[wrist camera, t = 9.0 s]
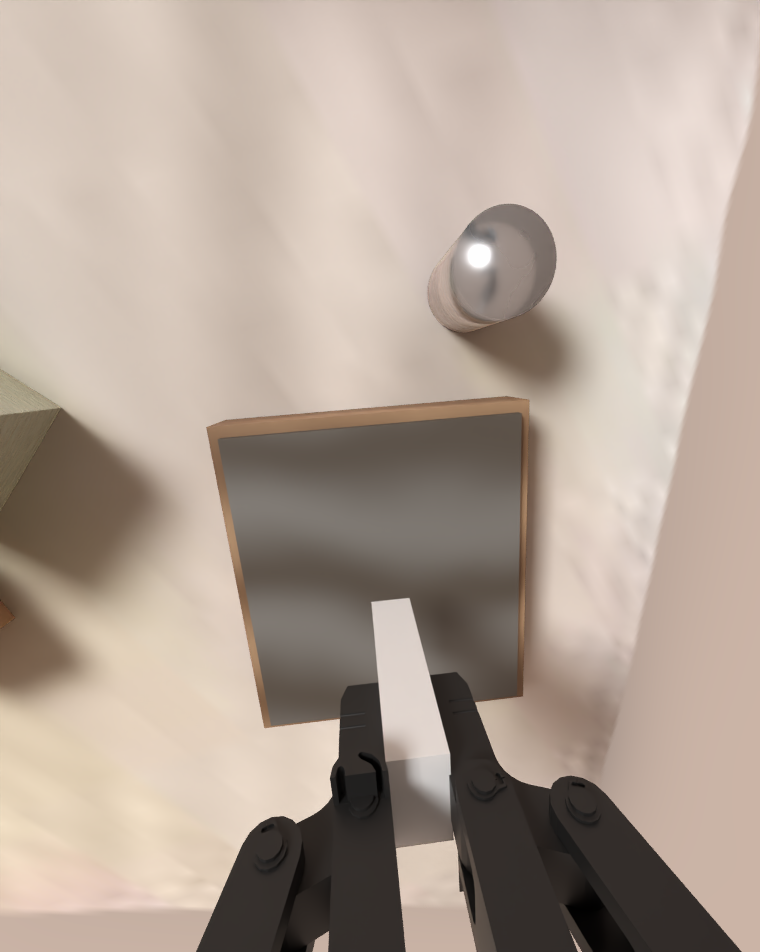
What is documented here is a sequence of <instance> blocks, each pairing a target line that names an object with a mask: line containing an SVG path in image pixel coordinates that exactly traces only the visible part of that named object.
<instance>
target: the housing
mask: <svg viewBox="0 0 760 952" xmlns="http://www.w3.org/2000/svg"><path fill="white" fill-rule="evenodd" d="M60 409H61V407H59V406H58V405H56V404H55V403H53V402H52V401H50V400H48V399H47V398H45V397H44V396H42V395H40V394H39V393H37V392H36V391H34V390H33V389H31V388H29V387H28V386H26V385H25V384H23V383H22V382H20V381H18V380H17V379H15V378H14V377H12V376H10V375H9V374H7V373H6V372H4V371H3V370H1V369H0V511H1V509H2V508H3V506H4V504H5V503H6V501H7V499H8V498H9V496H10V494H11V492H12V491H13V489H14V487H15V486H16V484H17V482H18V481H19V479H20V477H21V475H22V474H23V472H24V470H25V469H26V467H27V465H28V464H29V462H30V460H31V459H32V457H33V455H34V453H35V452H36V450H37V448H38V447H39V445H40V443H41V442H42V440H43V438H44V436H45V435H46V433H47V431H48V430H49V428H50V426H51V425H52V423H53V421H54V419H55V418H56V416H57V414H58V413H59V411H60Z"/></svg>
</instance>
